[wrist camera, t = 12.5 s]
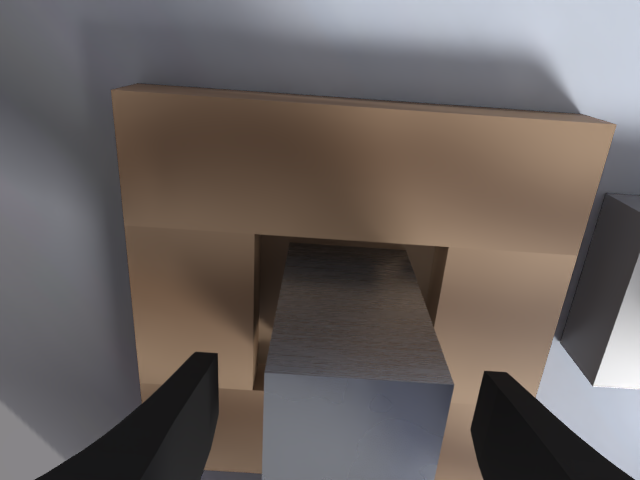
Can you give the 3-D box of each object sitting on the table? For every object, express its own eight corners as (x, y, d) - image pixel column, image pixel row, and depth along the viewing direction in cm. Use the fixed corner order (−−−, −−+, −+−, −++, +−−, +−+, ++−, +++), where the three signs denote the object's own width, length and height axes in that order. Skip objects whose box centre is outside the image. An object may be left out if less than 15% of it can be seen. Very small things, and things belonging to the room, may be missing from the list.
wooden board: (492, 448, 21) (508, 488, 19) (164, 427, 21) (147, 466, 19) (581, 114, 15) (616, 124, 13) (137, 83, 15) (110, 89, 13)
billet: (391, 347, 18) (426, 517, 12) (285, 340, 18) (261, 507, 12) (405, 250, 17) (454, 384, 10) (289, 242, 17) (264, 372, 10)
